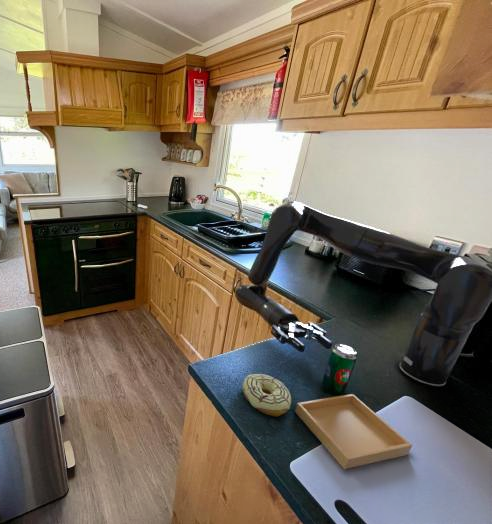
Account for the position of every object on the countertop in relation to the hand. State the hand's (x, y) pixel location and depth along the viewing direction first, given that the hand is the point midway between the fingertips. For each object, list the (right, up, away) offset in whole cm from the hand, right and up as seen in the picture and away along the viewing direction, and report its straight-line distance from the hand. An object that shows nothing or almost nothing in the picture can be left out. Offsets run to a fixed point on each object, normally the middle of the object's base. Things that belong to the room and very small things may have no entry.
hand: (317, 347), depth 77 cm
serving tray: (-3, -13, -16) cm, 21 cm away
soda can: (+1, -9, -4) cm, 10 cm away
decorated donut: (-18, -10, -8) cm, 22 cm away
